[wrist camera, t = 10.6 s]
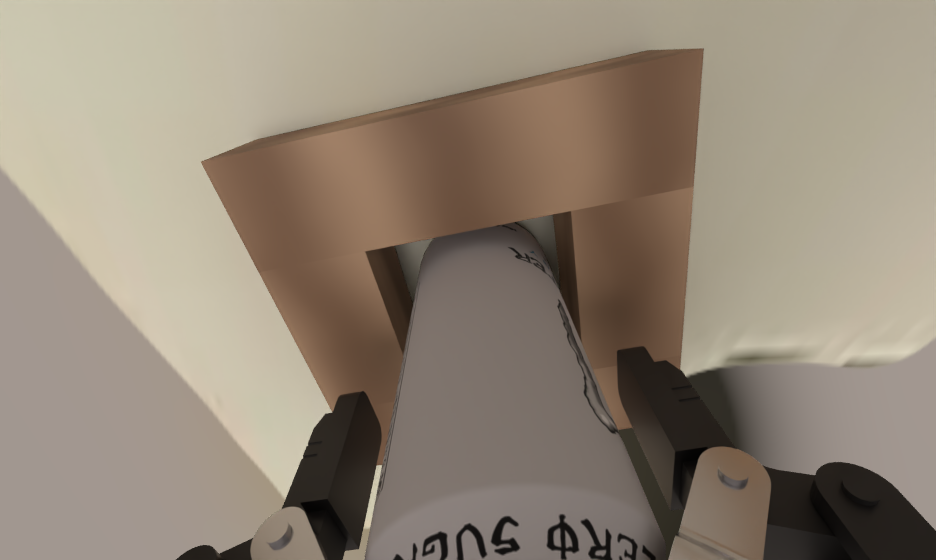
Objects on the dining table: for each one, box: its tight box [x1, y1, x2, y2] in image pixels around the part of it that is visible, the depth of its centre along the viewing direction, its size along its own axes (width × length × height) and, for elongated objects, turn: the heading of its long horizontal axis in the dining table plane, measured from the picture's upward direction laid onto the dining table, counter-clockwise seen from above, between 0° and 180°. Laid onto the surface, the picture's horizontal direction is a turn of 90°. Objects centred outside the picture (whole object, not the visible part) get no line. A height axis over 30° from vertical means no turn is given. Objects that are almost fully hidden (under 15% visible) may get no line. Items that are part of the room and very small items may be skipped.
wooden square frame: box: [201, 48, 704, 465], centre depth 18 cm, size 16×16×4 cm
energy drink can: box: [365, 222, 666, 560], centre depth 13 cm, size 6×6×15 cm
